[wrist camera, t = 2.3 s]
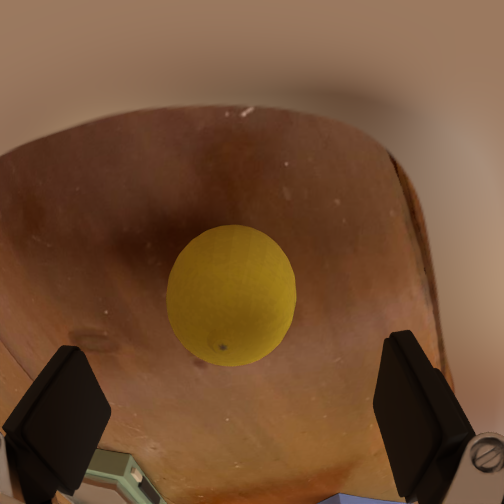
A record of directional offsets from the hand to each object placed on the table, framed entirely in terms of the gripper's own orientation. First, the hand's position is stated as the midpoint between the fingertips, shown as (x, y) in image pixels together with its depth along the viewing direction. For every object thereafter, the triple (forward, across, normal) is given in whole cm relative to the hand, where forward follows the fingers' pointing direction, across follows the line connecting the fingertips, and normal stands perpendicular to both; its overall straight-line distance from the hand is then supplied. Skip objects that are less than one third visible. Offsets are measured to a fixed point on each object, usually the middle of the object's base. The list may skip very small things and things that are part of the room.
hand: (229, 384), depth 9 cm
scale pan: (+6, +20, +27) cm, 34 cm away
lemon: (+10, 0, 0) cm, 10 cm away
